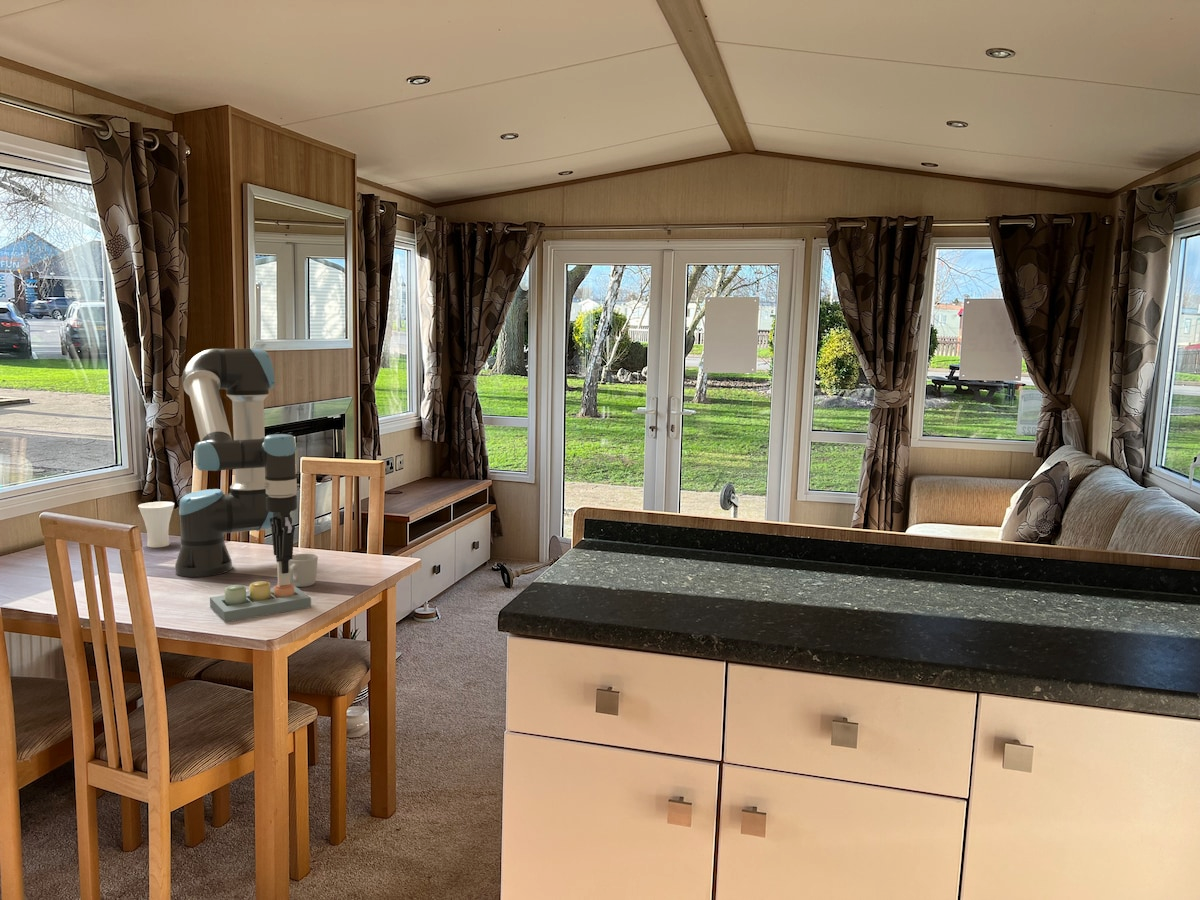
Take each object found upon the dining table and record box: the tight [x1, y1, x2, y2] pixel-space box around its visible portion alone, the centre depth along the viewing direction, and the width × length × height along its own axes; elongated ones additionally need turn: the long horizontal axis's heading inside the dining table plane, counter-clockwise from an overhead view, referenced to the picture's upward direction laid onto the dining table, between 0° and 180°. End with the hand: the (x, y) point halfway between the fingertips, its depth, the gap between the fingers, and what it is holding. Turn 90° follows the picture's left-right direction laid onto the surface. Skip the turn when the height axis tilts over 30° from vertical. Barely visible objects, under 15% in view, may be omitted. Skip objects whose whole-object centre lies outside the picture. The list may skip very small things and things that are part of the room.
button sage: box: [224, 584, 247, 606], centre depth 219 cm, size 5×5×4 cm
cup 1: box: [138, 501, 175, 548], centre depth 283 cm, size 10×10×14 cm
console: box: [209, 586, 312, 623], centre depth 223 cm, size 14×21×3 cm, turn 127°
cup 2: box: [289, 553, 319, 588], centre depth 242 cm, size 11×8×8 cm
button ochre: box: [249, 580, 272, 602], centre depth 223 cm, size 5×5×4 cm
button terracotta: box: [273, 583, 294, 598], centre depth 227 cm, size 5×5×4 cm
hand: (283, 584), depth 226 cm, fingers closed
